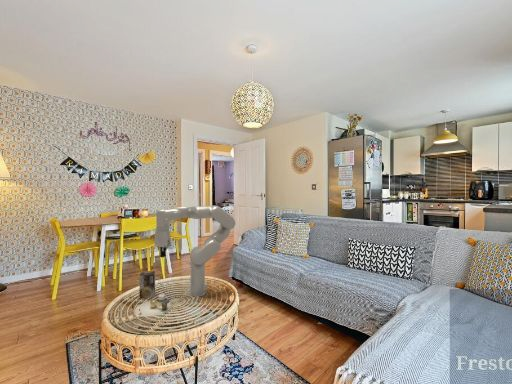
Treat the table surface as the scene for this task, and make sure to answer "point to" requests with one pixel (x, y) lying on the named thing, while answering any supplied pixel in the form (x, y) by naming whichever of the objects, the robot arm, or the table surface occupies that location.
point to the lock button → (161, 297)
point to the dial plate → (151, 309)
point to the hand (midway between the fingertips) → (162, 256)
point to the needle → (158, 304)
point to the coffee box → (147, 284)
